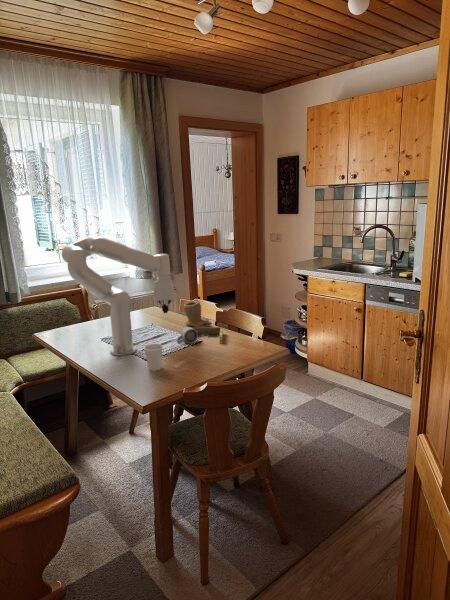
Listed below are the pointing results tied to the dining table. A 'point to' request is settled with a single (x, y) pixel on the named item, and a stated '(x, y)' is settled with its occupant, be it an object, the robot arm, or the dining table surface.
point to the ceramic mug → (188, 335)
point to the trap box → (210, 332)
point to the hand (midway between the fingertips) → (165, 312)
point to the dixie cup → (153, 356)
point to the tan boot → (195, 315)
